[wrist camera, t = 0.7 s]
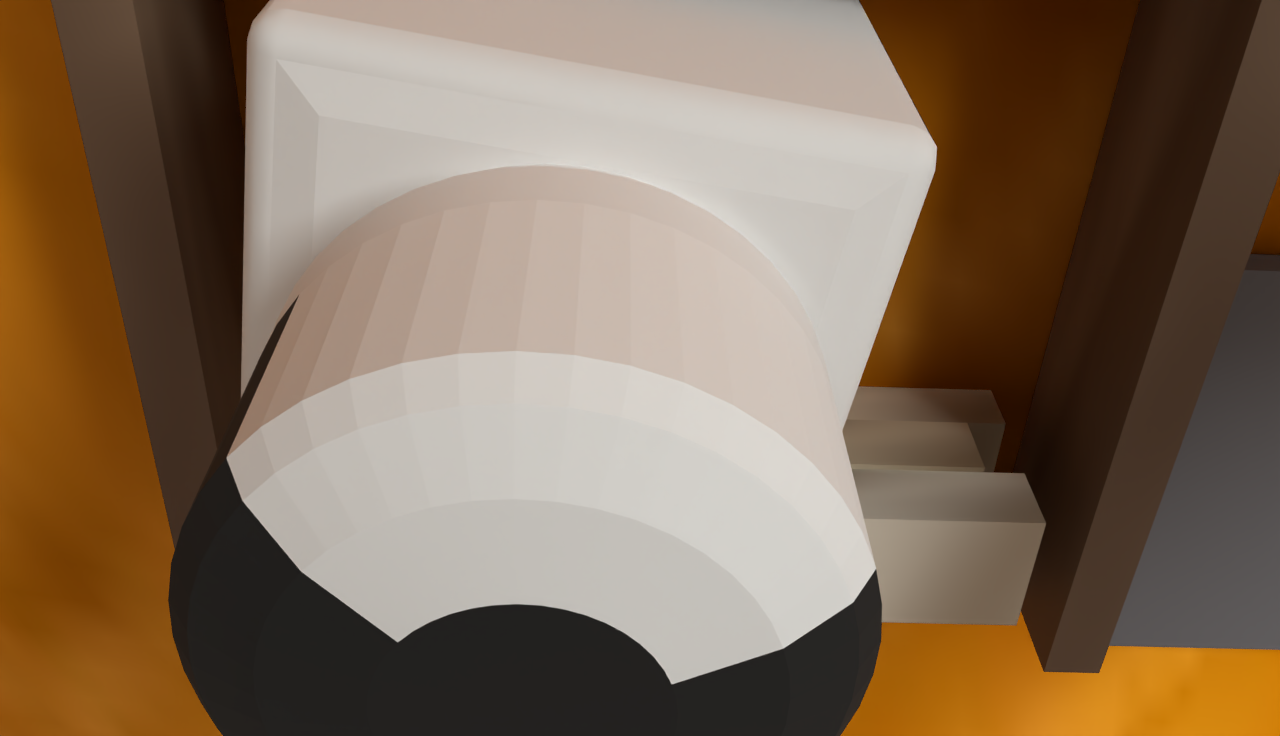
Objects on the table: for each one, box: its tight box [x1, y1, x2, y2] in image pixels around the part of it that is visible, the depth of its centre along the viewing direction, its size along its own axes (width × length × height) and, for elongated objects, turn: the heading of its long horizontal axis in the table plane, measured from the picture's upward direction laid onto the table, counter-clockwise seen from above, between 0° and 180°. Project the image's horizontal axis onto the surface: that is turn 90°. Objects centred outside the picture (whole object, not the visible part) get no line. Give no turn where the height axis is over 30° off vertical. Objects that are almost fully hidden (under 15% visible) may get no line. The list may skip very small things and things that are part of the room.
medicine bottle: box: [168, 0, 937, 736], centre depth 15 cm, size 7×7×12 cm
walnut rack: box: [51, 0, 1280, 673], centre depth 19 cm, size 16×13×4 cm
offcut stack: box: [842, 386, 1046, 625], centre depth 22 cm, size 12×2×4 cm, turn 88°
